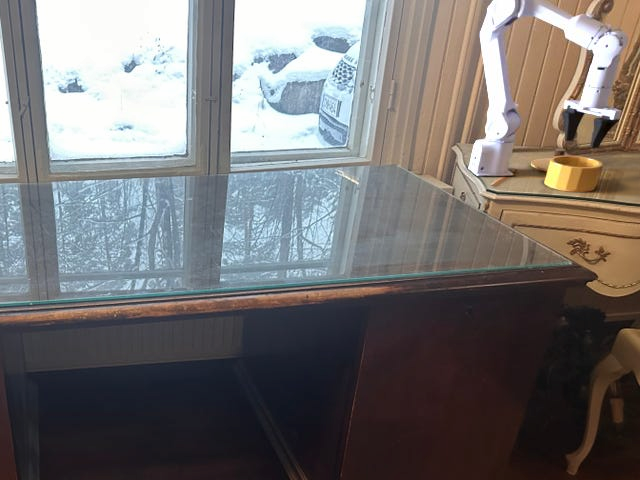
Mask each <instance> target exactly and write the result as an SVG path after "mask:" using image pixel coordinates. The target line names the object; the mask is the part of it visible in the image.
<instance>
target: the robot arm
mask: <svg viewBox="0 0 640 480" xmlns="http://www.w3.org/2000/svg"><path fill="white" fill-rule="evenodd" d="M525 17H526V18H527V17H536V18H537V19H540V20H542V21H544V22H546V23H548V24H550V25H553V26H555V27H557V28H559V29H561V30H563V31H564V36H565V39H567V40H569V41H570V42H573V43H574V44H576V45H578V46H580V47H582V48H584V49H586V50H587V51H591V50H592V53H593V58H592V62H591V64H590V67H589V70H588V73H587V76H586V80H585V83H584V87H583V91H582V94H581V98H580V100H576V99H568V100H564V104H563V109H565V110H564V111H562V112H561V116H562V119H563V124H564V141H566V142H571V141H572V142H573V141H574V139H575V137H576V134H577V131H578V128H579V125H580V123H581V121H582V119H583V117H584V116H585V114H589V115H594V116H598V117H593V132H592V137H591V140H590V145H589V148H590V149H596V148H597V149H598V148H600V146H601V144H602V142H603V140H604V139H605V137H606V136H607V134H608V133H609V132H610V131H611V130H612V129H613V128H614V126H615V125H617V123H618V122H619V120H620V119H621V118H620V117H621V116H622V113H623V110H621V109H617V108H615V107H612V106H610V105H608V102H609V99H610V95H611V92H612V90H613V86H614V83H615V79H616V76H617V73H618V69H619V63H620V61H621V57H622V53H623V52H624V50H625V49H626V48H627V46H628V44H629V43H628V42H629V37H628V35H627V33H626V32H624V31H623V29H621V28H613V27H614V26H613V25H612V24H610V23H608V24H605V23H604V22H603V23H602V22H601V21H599V20H597V19H595V18H594V17H595V15H594V14H592V13H587V14H585V13H581V14H577V15H575V16H574V15H572V14H571V13H569V12H567V11H566V10H563V9H561V8H560V7H558V6H556V5H555V4H553V3H551V2H549V1H548V0H492V2H491V3H490V4H489V5H488V6H487V10H486V16H485V18H484V21H483V24H482V26H481V29H480V31H479V39H480V47H481V53H482V54H481V55H482V60H483V61H482V62H483V67H484V75H485V83H486V88H487V95H488V102H489V105H488V109H487V113H486V117H487V120H486V124H485V129H484V130H485V131H484V133H485V134H486V135H485V137H484V138H481V139H477V140H475V141H474V144H473V147H472V152H471V156H470V159H469V160H470V161H469V166H468V167H467V169H468V170H469V171H471V172H472V173H473V174H474V175H476V177H507V176H510V177H512V176H514V173H512V172H511V171H510V170H509V167H510V163H511V159H512V155H513V151H514V145H515V142H516V135H515V133H516V132H517V131H519V129H520V128H521V126H522V123H523V122H522V116H521V114H520V113H519V111H517V110H516V105H515V104H516V103H515V101H514V100H513V99H512V92H511V84H510V77H509V69H508V62H507V55H506V54H507V53H506V47H505V40H504V35H505V34H506V32H507V31H508V30H509V28H511V26H512V24H514V22H516V21H517V20H518V19H519V18H525ZM612 28H613V29H612Z"/></svg>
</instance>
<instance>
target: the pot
mask: <svg viewBox="0 0 640 480" xmlns="http://www.w3.org/2000/svg"><path fill="white" fill-rule="evenodd" d="M550 158H551V159H550V162H549V166H548V169H547V171H546V173H545V177H544V185H546V186H547V187H548V188H551V189H555V190H559V191H564V192H572V193H585V192H591V191H594V190H595V189H596V188H597V184H598V182H599V178H600V175H601V172H602V168H603V166H604V164H603V162H602V161H600V160H598V159H595V158H592V157H587V156H581V155H580V156H579V155H564V156H555V157H554V156H552V157H550Z"/></svg>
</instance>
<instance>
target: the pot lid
mask: <svg viewBox="0 0 640 480" xmlns="http://www.w3.org/2000/svg"><path fill="white" fill-rule="evenodd" d="M565 153H566V149H564V148H555V149H554V153H553V157H555V156H565ZM551 158H552V157H550V158H549V157H544V158H543V157H542V158H541V157H540V158H536V159H533V160H531V161H530V166H531V167H533V168H535V169H538V170H541V171H544V172H547V169H548V166H549V162H550V159H551Z"/></svg>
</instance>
